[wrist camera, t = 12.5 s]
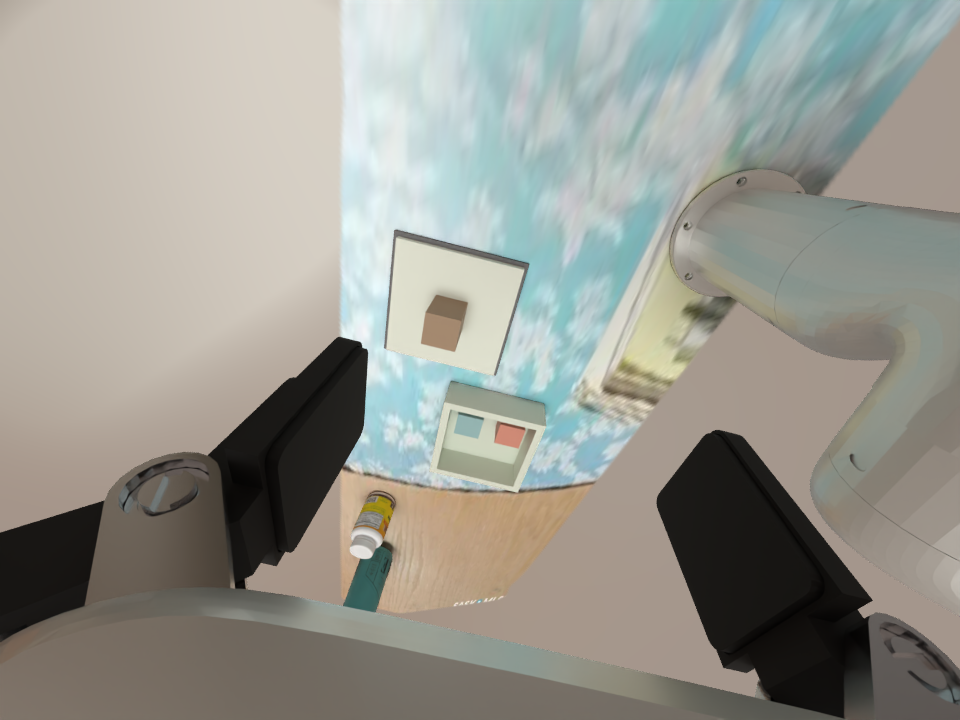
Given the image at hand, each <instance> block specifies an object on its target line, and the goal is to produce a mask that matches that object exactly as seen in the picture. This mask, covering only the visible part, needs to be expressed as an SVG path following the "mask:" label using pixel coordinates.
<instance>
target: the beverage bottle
mask: <svg viewBox="0 0 960 720" xmlns="http://www.w3.org/2000/svg"><path fill="white" fill-rule="evenodd" d="M392 561H393V559H392V553H391V552H390V551H389V550H388V549H386V548H384V547H381V546H380V547H378V548H376V549H375V551H374V553H373V556H372V557H371V558H369V559H361V558H360V562H359V563H358V567H357V570H356V572H355V576H354V577H353V578H352V579H353V581H352V583H351V586H350V589H349V590H348V591H349V592H348V594H347V597H346V599H345V602H344V605H343V606H345V607H350V608H355V609H360V610H365V611H370V612H376V609H377V606H378V603H379V600H380V597H381V594H382V590H383V587H384V586H385V585H384V584H385V581H386V578H387V575H388V573H389V571H390V570H389V569H390V566H391V562H392Z"/></svg>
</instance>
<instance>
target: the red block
mask: <svg viewBox="0 0 960 720" xmlns="http://www.w3.org/2000/svg"><path fill="white" fill-rule="evenodd" d="M525 431H526V429H525V427H521V426H517V425H512V424H508V423H504V422H500V421H497V424H496V429H495V440H494V443H497V444H501V445H505V446H509V447H514V448H519V446H520V443H521V441H522V438H523V436H524V433H525Z"/></svg>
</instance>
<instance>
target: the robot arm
mask: <svg viewBox="0 0 960 720" xmlns="http://www.w3.org/2000/svg"><path fill="white" fill-rule="evenodd" d="M738 179H739V182H738V183H737V180H738ZM736 183H737V184H736ZM686 222H687V225H686V226H685V227H683V226H684V224H685V223H686ZM670 260H671V264H672V267H673V270H674V272H675V274H676V275H677V277H678V278H679V279H680V280H681V282H682V283H683V284H684V285H686V286H687V287H689V288H690V289H691V290H693V291H695V292H697V293H699V294H703V295H707V296H713V297H725V296H730V297H732V298H733V299H735V300H736V301H738V302H739V303H741V304H742V305H744V306H745V307H747V308H748V309H750V310H751V311H753V312H754V313H755V314H757V315H759V316H760V317H761V318H763V319H765V320H766V321H767V322H769V323H771V324H772V325H773V326H775V327H776V328H778V329H779V330H781V331H782V332H784V333H785V334H787V335H788V336H790V337H791V338H793V339H795V340H796V341H798V342H799V343H801V344H803V345H804V346H806V347H808V348H810V349H811V350H814V351H816V352H819V353H821V354H824V355H828V356H832V357H837V358H842V359H849V360H890V361H889V363H888V365H887V366H886V368H885V369H884V371H883V372H882V373H881V375H880V376H879V378H878V379H877V380H876V382H875V383H874V384H873V386H872V389H871V391H870V392H869V393H868V394H867V396H866V397H865V398H864V400H863V401H862V402H861V404H860V405H859V406H858V407H857V409H856V410H855V411H854V413H853V414H852V415H851V417H850V418H849V419H848V420H847V422H846V423H845V424H844V426H843V427H842V428H841V430H840V431H839V432H838V434H837V435H836V436H835V437H834V439H833V440H832V441H831V443H830V445H829V446H828V448H827V449H826V450H825V452H824V453H823V454H822V456H821V457H820V459H819V460H818V462H817V464H816V465H815V467H814V470H813V472H812V476H811V479H810V492H811V497H812V500H813V503H814V505H815V507H816V509H817V511H818V512H819V514H820V515H821V517H822V518H823V520H824V521H825V522H826V524H827V525H828V526H829V527H830V528H831V529H832V530H833V531H834V532H835V533H836V534H837V535H838V536H839V537H840V538H841V539H842V540H843V541H844V542H845V543H846V544H847V545H849V546H850V547H851V548H852V549H854V550H855V551H856V552H857V553H858V554H860V555H861V556H862V557H863V558H865V559H866V560H868V561H869V562H870V563H872V564H873V565H875V566H876V567H877V568H879V569H880V570H882V571H883V572H885V573H886V574H888V575H889V576H891V577H893V578H894V579H896V580H897V581H899V582H900V583H902V584H903V585H905V586H907V587H908V588H910V589H911V590H913V591H915V592H917V593H919V594H920V595H922V596H924V597H925V598H927V599H929V600H930V601H932V602H934V603H936V604H938V605H939V606H941V607H943V608H944V609H946V610H948V611H950V612H952V613H953V614H955V615H957V616H959V617H960V213H953V212H943V211H936V210H928V209H920V208H912V207H900V206H892V205H885V204H877V203H870V202H862V201H854V200H846V199H839V198H832V197H824V196H816V195H809V194H806V192H805V190H804V189H803V187H802V186H801V185H800V183H799V182H797V181H796V180H795V179H794V178H792V177H791V176H789V175H787V174H784V173H782V172H779V171H773V170H766V169H753V170H747V171H741V172H738V173H735V174H732V175H729V176H726V177H724V178H723V179H721V180H719V181H717V182H715V183H713V184H712V185H710V186H709V187H708V188H706V189H705V190H704V191H702V192H701V193H700V194H699V195H698V196H697V197H696V198H695V199H694V200H693V201H692V202H691V203H690V204H689V206H688V207H687V208H686V209H685V211H684V212H683V213H682V215H681V217H680V219H679V221H678V222H677V224H676V226H675V229H674V232H673V235H672V238H671V244H670ZM687 273H688V275H687V276H685V275H686V274H687ZM367 363H368V350H367V349H364V348H362V344H361V342H358V341H354V340H350V339H346V338H342V337H338V338H336V339H335V340H334V341H333V342H332V343H331V344H330V345H329V346H328V347H327V348H326V349H325V350H324V351H323V352H322V353H321V354H320V355H319V356H318V357H317V358H316V359H315V360H314V361H313V362H312V363H311V364H310V365H308V366H307V368H305V369H304V370H303V371H302V372H301V373H300V374H299V375H298V376H297V377H296V378H294V377H293V378H289V379H288V380H287V381H286V382H284V383H283V384H282V385H281V386H280V387H279V388H278V389H277V390H276V391H275V392H274V393H273V394H272V395H271V396H270V397H268V399H266V400H265V401H264V402H263V403H262V404H261V405H260V406H259V407H258V408H257V409H256V410H255V411H254V412H253V413H252V414H251V415H250V416H249V417H248V418H246V419H245V420H244V421H243V422H242V423H241V424H240V425H239V426H238V427H237V428H236V429H235V430H234V431H233V432H232V433H231V434H230V435H229V436H228V437H227V438H225V439H224V440H223V441H222V442H221V443H220V444H219V445H218V446H217V447H216V448H215V449H214V450H213V451H212V452H211V453H210V454H209V455H208V456H207V455H204V454H200V453H191V452H182V453H174V454H168V455H164V456H161V457H158V458H155V459H151V460H149V461H148V462H145V463H143V464H141V465H139V466H137V467H135V468H133V469H132V470H131V471H130V472H128V473H126V474H125V475H124V476H122V477H121V478H120V479H119V480H118V481H117V482H116V483H115V485H114V486H113V487H112V488H111V489H110V490H109V492H108V495H107V497H106V499H105V501H101V502H98V503H95V504H92V505H88V506H85V507H82V508H79V509H75V510H73V511H69V512H66V513H63V514H59V515H56V516H53V517H50V518H47V519H43V520H40V521H37V522H33V523H30V524H27V525H24V526H20V527H17V528H14V529H11V530H7V531H4V532H1V533H0V720H960V670H959V668H958V667H957V666H956V665H955V664H954V663H953V662H952V661H951V659H949V657H948V656H947V655H946V654H945V653H943V652H942V651H941V650H940V649H939V648H938V647H937V646H936V645H935V644H934V643H932V642H931V641H930V640H929V639H928V638H926V637H925V636H924V635H922V634H921V633H919V632H918V631H917V630H916V629H914V628H913V627H911V626H909V625H908V624H906V623H904V622H903V621H901V620H900V619H897V618H894V617H892V616H890V615H888V614H883V613H874V614H872V615H870V616H868V617H866V618H863V617H862V615H861V614H860V613H859V611H858V610H857V609H859V608H861V607H862V606H864V605H866V604H867V603H869V602H871V601H873V600H872V599H871V597H870V596H869V595H868V594H867V592H866V591H865V590H864V589H863V587H862V586H861V585H860V584H859V582H858V581H857V580H856V579H855V577H854V576H853V575H852V574H851V572H850V571H849V570H848V568H847V567H846V566H845V565H844V563H843V562H842V561H841V560H840V558H839V557H838V556H837V555H836V553H835V552H834V551H833V550H832V548H831V547H830V546H829V545H828V543H827V542H826V541H825V540H824V538H823V537H822V536H821V534H820V533H819V532H818V531H817V529H816V528H815V527H814V526H813V524H812V523H811V522H810V521H809V519H808V518H807V517H806V515H805V514H804V513H803V512H802V511H801V509H800V508H799V507H798V506H797V504H796V503H795V502H794V500H793V499H792V498H791V497H790V495H789V494H788V493H787V492H786V490H785V489H784V488H783V486H782V485H781V484H780V483H779V481H778V480H777V479H776V478H775V476H774V475H773V474H772V473H771V472H770V470H769V469H768V468H767V466H766V465H765V464H764V462H763V461H762V460H761V459H760V458H759V456H758V455H757V454H756V452H755V451H754V450H753V449H752V447H751V446H750V445H749V444H748V442H747V441H746V440H745V439H744V438H743V437H742V436H740V435H737V434H733V433H729V432H725V431H721V430H715V431H712V432H711V433H708V434H706V435H705V436H704V437H703V438H702V439H701V440H700V442H699V443H698V444H697V446H696V447H695V448H694V449H693V451H692V452H691V453H690V454H689V456H688V457H687V458H686V460H685V461H684V462H683V463H682V465H681V466H680V467H679V469H678V470H677V471H676V472H675V474H674V475H673V477H672V478H671V479H670V480H669V482H668V483H667V484H666V485H665V487H664V488H663V489H662V490H661V492H660V493H659V495H658V497H657V508H658V511H659V513H660V516H661V519H662V521H663V523H664V526H665V529H666V531H667V534H668V536H669V539H670V542H671V544H672V547H673V549H674V552H675V555H676V557H677V560H678V562H679V565H680V568H681V570H682V573H683V575H684V578H685V580H686V583H687V586H688V588H689V591H690V593H691V596H692V598H693V601H694V604H695V606H696V609H697V611H698V614H699V616H700V619H701V622H702V624H703V627H704V629H705V632H706V635H707V637H708V639H709V641H710V643H711V645H712V646H713V647H714V648H715V649H716V650H717V653H718V655H719V658H720V660H721V663H722V665H723V668H727V669H732V670H736V671H740V672H744V673H747V672H749V671H751V670H753V669H754V668H755V670H756V672H757V674H758V676H759V680H758V684H757V689H756V695H755V697H750V696H746V695H742V694H737V693H733V692H728V691H724V690H720V689H716V688H711V687H707V686H703V685H698V684H694V683H690V682H685V681H680V680H676V679H672V678H668V677H663V676H659V675H654V674H650V673H645V672H641V671H636V670H632V669H628V668H623V667H619V666H615V665H610V664H606V663H601V662H597V661H592V660H588V659H583V658H579V657H574V656H570V655H565V654H561V653H557V652H552V651H548V650H543V649H539V648H535V647H530V646H526V645H521V644H517V643H512V642H507V641H503V640H498V639H493V638H489V637H485V636H480V635H475V634H471V633H467V632H462V631H457V630H453V629H448V628H444V627H439V626H435V625H430V624H425V623H421V622H416V621H412V620H407V619H403V618H398V617H394V616H389V615H385V614H379V613H375V612H370V611H365V610H360V609H355V608H350V607H345V606H340V605H334V604H329V603H325V602H320V601H314V600H310V599H305V598H300V597H295V596H288V595H282V594H275V593H267V592H261V591H254V590H248V584H247V577H249V576H251V575H253V574H254V572H255V570H256V569H257V568H258V566H259V565H260V563H265V564H269V565H273V566H277V565H278V563H279V561H280V560H281V558H282V556H283V555H284V553H285V552H290V553H291V552H293V551H294V549H295V548H296V547H297V545H298V543H299V542H300V540H301V538H302V537H303V535H304V533H305V531H306V530H307V528H308V526H309V524H310V523H311V521H312V519H313V517H314V516H315V514H316V512H317V510H318V509H319V507H320V505H321V504H322V502H323V500H324V498H325V497H326V494H327V493H328V491H329V490H330V488H331V486H332V484H333V483H334V481H335V479H336V477H337V476H338V474H339V472H340V471H341V469H342V467H343V465H344V464H345V462H346V460H347V458H348V457H349V455H350V453H351V451H352V450H353V448H354V446H355V444H356V443H357V441H358V439H359V438H360V436H361V433H362V430H363V426H364V415H365V397H366V380H367Z"/></svg>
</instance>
